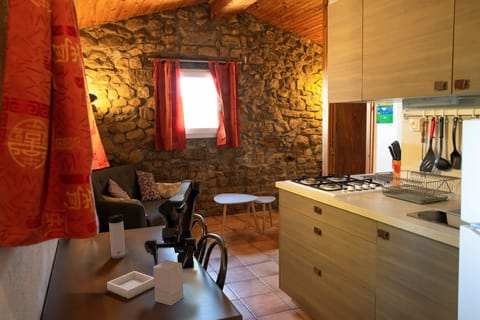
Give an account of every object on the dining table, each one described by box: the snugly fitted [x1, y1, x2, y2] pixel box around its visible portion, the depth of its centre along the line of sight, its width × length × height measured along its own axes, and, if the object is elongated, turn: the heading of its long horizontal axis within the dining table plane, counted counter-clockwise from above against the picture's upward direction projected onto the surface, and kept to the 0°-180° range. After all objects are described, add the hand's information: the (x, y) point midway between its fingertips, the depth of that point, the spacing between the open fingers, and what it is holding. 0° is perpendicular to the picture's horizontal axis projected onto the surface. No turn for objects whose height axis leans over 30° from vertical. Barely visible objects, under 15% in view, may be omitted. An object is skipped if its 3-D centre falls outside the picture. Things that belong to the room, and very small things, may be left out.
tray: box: [106, 270, 155, 299], centre depth 143 cm, size 13×13×3 cm
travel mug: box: [108, 213, 126, 260], centre depth 176 cm, size 6×7×20 cm
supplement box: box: [152, 259, 185, 306], centre depth 132 cm, size 7×7×13 cm
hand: (169, 267), depth 135 cm, fingers open, 9 cm apart
